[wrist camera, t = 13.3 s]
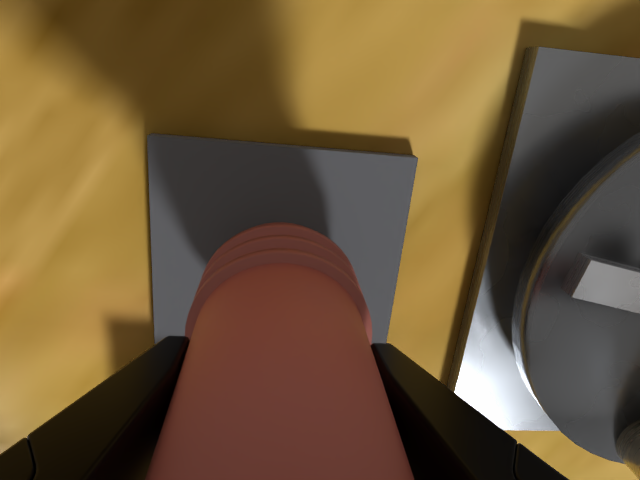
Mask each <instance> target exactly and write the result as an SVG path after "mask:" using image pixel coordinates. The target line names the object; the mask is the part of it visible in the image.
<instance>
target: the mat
mask: <svg viewBox="0 0 640 480" xmlns="http://www.w3.org/2000/svg"><path fill="white" fill-rule="evenodd" d="M147 142H148V171H149V199H150V227H151V255H152V283H153V312H154V340H155V344H157V343H158V342H159V341H161V340H162V339H164V338H165V337H167V336H185V325H186V321H187V317H188V313H189V311H190V308H191V305H192V303H193V300H194V297H195V294H196V291H197V289H198V286H199V284H200V280H201V278H202V275H203V273H204V270H205V268H206V265H207V264H208V262H209V260H210V258H211V257H212V256H213V254H214V253H215V252H216V251H217V249H219V248H220V247H221V246H222V245H223V244H224V243H225V242H226V241H228V240H229V239H230V238H232V237H233V236H235V235H237V234H238V233H240V232H242V231H244V230H247V229H250V228H252V227H255V226H258V225H262V224H266V223H275V222H285V223H293V224H297V225H301V226H304V227H307V228H310V229H312V230H315V231H317V232H319V233H321V234H323V235H325V236H326V237H328V238H329V239H330V240H332V241H333V242H334V243H335V244H336V245H337V246H338V247H339V248H340V249H341V250H342V251H343V252H344V254H345V255H346V256H347V258H348V259H349V261H350V263H351V265H352V267H353V269H354V272H355V275H356V277H357V280H358V283H359V286H360V288H361V291H362V294H363V297H364V299H365V302H366V304H367V307H368V310H369V313H370V317H371V322H372V342H371V344H372V343H386V341H387V335H388V329H389V323H390V318H391V312H392V306H393V300H394V294H395V289H396V283H397V277H398V271H399V265H400V260H401V254H402V248H403V242H404V236H405V231H406V225H407V219H408V213H409V207H410V202H411V196H412V190H413V184H414V178H415V173H416V167H417V161H418V158H417V157H416V156H414V155H405V154H393V153H381V152H369V151H357V150H345V149H333V148H321V147H309V146H297V145H285V144H274V143H262V142H250V141H238V140H226V139H214V138H202V137H190V136H178V135H166V134H154V133H151V134H149V135H147Z"/></svg>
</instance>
